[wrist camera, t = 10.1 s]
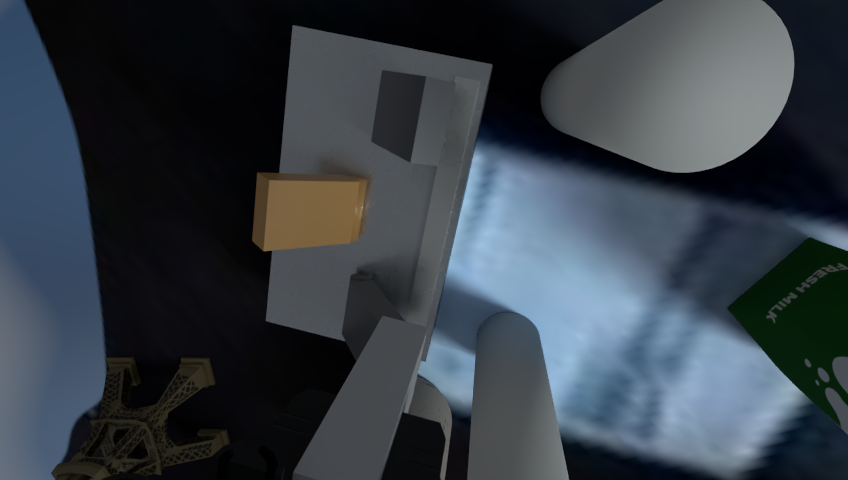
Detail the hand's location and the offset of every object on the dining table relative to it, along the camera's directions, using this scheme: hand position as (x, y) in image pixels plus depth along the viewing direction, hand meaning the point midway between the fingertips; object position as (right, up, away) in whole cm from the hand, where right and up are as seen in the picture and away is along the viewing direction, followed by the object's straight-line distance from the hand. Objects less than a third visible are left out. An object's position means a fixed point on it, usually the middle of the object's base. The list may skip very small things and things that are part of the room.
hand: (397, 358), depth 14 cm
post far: (+8, -4, +21) cm, 23 cm away
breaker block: (-2, +7, +19) cm, 21 cm away
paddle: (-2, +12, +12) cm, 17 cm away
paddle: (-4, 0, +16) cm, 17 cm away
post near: (+11, +13, +15) cm, 23 cm away
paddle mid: (-3, +6, +14) cm, 16 cm away
